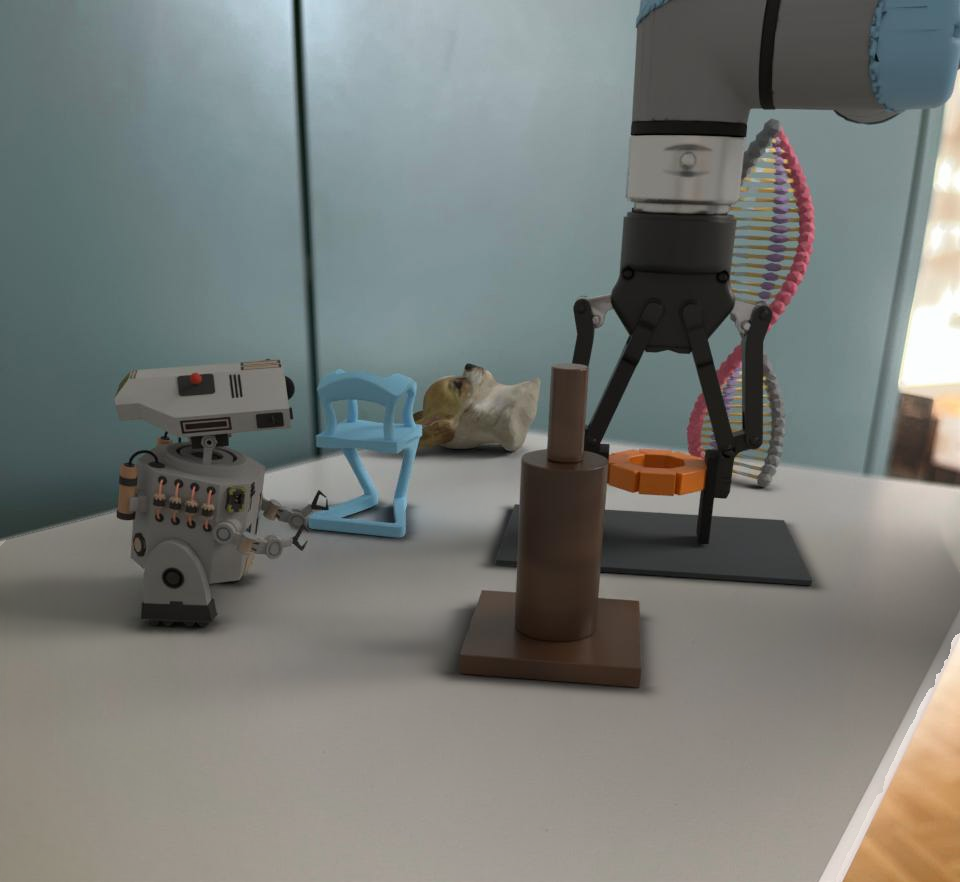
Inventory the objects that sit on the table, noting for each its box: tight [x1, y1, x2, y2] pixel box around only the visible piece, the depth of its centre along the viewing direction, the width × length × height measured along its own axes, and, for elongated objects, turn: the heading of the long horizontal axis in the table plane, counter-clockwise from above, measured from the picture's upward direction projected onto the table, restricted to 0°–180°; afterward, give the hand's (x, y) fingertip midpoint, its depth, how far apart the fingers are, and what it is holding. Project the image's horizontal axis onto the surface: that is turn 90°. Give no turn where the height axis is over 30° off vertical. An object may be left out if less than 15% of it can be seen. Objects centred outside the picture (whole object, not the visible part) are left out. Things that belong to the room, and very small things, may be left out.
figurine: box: [114, 358, 329, 628], centre depth 63 cm, size 9×12×15 cm
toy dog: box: [412, 362, 541, 452], centre depth 104 cm, size 11×9×15 cm
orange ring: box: [607, 448, 707, 497], centre depth 77 cm, size 7×7×2 cm
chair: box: [308, 368, 422, 539], centre depth 81 cm, size 8×8×12 cm
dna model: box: [686, 118, 816, 488], centre depth 91 cm, size 9×9×30 cm
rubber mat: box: [495, 503, 813, 586], centre depth 79 cm, size 22×14×1 cm, turn 83°
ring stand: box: [458, 362, 643, 688], centre depth 58 cm, size 10×10×16 cm
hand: (649, 534), depth 79 cm, fingers closed on orange ring, 7 cm apart
